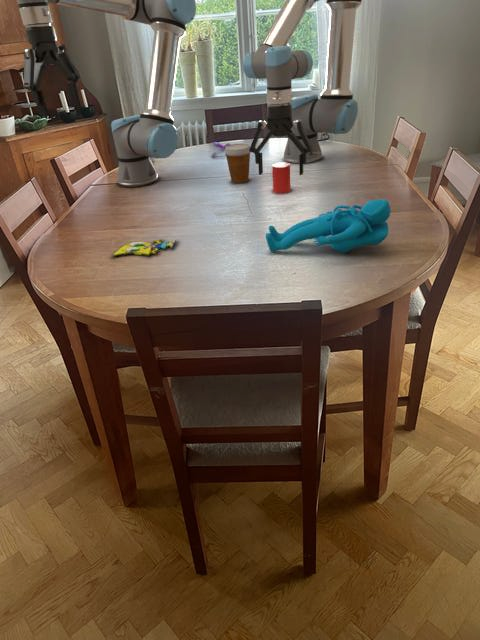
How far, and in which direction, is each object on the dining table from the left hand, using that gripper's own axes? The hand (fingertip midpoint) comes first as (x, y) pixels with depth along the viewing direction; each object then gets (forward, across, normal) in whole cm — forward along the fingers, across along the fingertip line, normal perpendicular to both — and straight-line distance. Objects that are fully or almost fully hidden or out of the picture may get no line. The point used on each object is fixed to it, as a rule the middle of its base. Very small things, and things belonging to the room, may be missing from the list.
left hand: (61, 111), depth 140 cm
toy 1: (+31, -18, -35) cm, 51 cm away
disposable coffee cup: (+31, +42, -36) cm, 64 cm away
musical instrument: (+31, +80, -10) cm, 87 cm away
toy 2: (+31, -6, -82) cm, 88 cm away
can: (+31, +35, -55) cm, 72 cm away
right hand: (+26, +34, -55) cm, 69 cm away
